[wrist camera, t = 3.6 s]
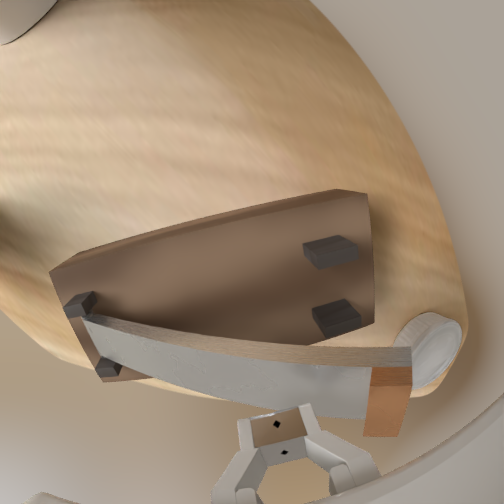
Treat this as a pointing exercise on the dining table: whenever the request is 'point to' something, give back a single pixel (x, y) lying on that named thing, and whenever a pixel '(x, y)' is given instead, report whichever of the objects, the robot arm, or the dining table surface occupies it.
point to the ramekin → (430, 345)
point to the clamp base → (232, 276)
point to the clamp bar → (267, 371)
